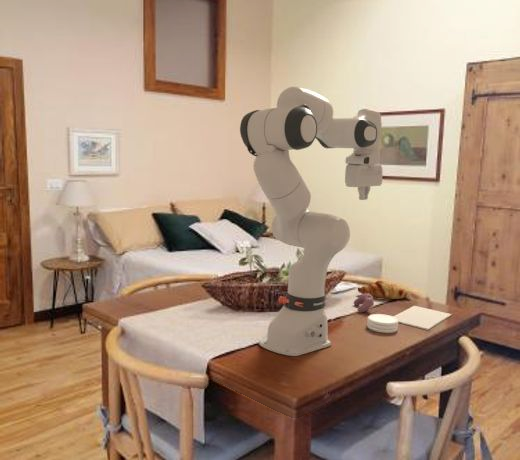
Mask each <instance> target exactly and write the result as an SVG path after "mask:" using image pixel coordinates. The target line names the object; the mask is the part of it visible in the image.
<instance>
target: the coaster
mask: <svg viewBox="0 0 520 460" xmlns="http://www.w3.org/2000/svg"><path fill="white" fill-rule="evenodd" d="M393 316H394V315H393ZM393 316H392V315H390V314H389V315H388V314H384V313H383V314H382V313H375V314H374V313H373V314H370V315H368V316H367V321H366V322H367V323H366V326H367V329H369V330H370V331H373V332H378V333H383V334H391V333H396V332H397V331H398V330H399V323H398V319H397V318H395V317H393Z"/></svg>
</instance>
